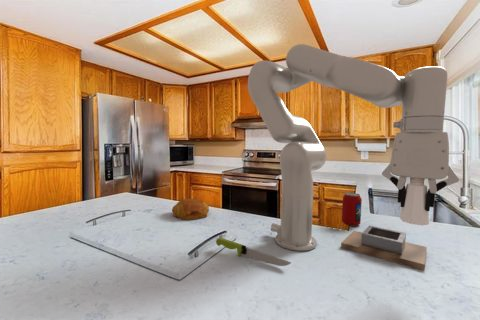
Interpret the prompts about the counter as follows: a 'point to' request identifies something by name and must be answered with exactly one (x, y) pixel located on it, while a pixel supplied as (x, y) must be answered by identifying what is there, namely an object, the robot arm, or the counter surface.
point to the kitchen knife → (251, 253)
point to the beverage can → (351, 209)
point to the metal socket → (384, 239)
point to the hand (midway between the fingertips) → (415, 207)
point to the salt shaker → (415, 203)
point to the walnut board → (410, 255)
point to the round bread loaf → (190, 209)
